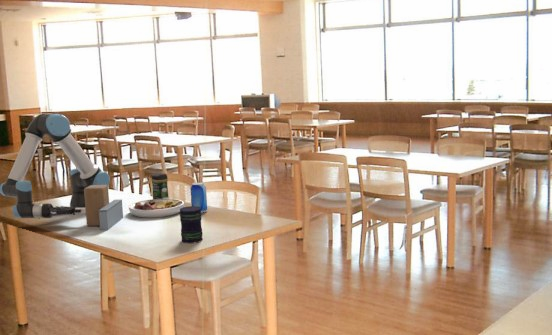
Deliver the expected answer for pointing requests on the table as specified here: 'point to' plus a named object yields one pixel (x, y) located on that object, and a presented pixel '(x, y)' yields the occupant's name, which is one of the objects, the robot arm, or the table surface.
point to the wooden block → (95, 202)
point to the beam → (110, 214)
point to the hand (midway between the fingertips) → (87, 210)
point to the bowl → (156, 208)
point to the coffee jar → (160, 186)
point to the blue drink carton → (199, 196)
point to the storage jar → (191, 224)
